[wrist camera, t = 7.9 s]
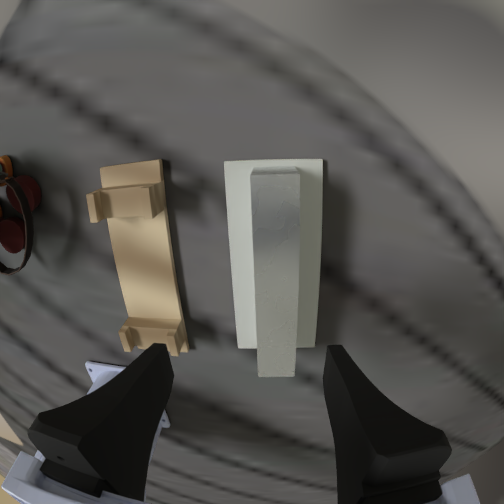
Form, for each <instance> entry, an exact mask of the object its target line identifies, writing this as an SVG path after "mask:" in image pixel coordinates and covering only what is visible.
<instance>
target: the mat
mask: <svg viewBox="0 0 504 504" xmlns="http://www.w3.org/2000/svg"><path fill="white" fill-rule="evenodd" d="M270 166H295V168H296V169H297V171H298V172H299V173H300V255H299V292H298V318H297V339H296V348H306V347H315V337H316V326H317V313H318V299H319V283H320V264H321V239H322V196H323V159H263V160H237V161H224V169H225V186H226V201H227V216H228V230H229V244H230V257H231V270H232V283H233V295H234V307H235V319H236V330H237V341H238V348H257V334H256V309H255V285H254V260H253V236H252V211H251V187H250V174H251V172H252V170H253V168H254V167H270Z"/></svg>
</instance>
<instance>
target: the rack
mask: <svg viewBox="0 0 504 504" xmlns="http://www.w3.org/2000/svg"><path fill="white" fill-rule="evenodd" d="M100 173H101V181H102V188H101V189H98V190H96V191H93V192H91V193H89V194H86V197H87V204H88V210H89V215H90V221H91V223H96V222H99V221H101V220H103V219H106V218H107V221H108V227H109V233H110V238H111V243H112V248H113V253H114V258H115V262H116V267H117V272H118V276H119V280H120V284H121V288H122V292H123V296H124V300H125V304H126V308H127V312H128V315H129V317H128V319H127V320H126V322H125V323H124V325H123V326H122V327H121V329H120V330H119V332H118V333H119V336H120V339H121V342H122V345H123V348H124V351H126V352H131V351H132V349H133V348H134V346H138V349H147V348H148V347H150V346H151V345H152V344H153V343H164V344H166V346H167V350H168V351H170V353H171V356H179V353H180V352H188V351H189V343H188V338H187V333H186V328H185V323H184V318H183V312H182V307H181V301H180V295H179V289H178V283H177V277H176V271H175V264H174V258H173V251H172V244H171V236H170V229H169V221H168V213H167V204H166V195H165V186H164V176H163V165H162V159H158V160H150V161H142V162H134V163H127V164H120V165H113V166H106V167H102V168H100Z"/></svg>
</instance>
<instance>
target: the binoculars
mask: <svg viewBox="0 0 504 504" xmlns="http://www.w3.org/2000/svg"><path fill="white" fill-rule="evenodd" d="M12 176H13V169H12V163H11V160H10V158H9V157H8V156H6V155H4V156H1V157H0V186H5V185H7V187H6V193H7V197H8V199H9V201H10V203H11V205H12V206H13V207H14V209H15V210H16V211H18V212H19V213H21V214H23V217H24V220H25V222H24V221H23V220H22V219H20V218H18V217H9V218H7V219H4V218H2V209H1V206H0V242H1V244H2V246H3V247H4V248H5V249H6V250H7V251H8V252H10V253H18V252H20V251H21V250H22V249H23V248H24V247H25V254H24V260H23V262H22V264H21V266H20V267H18V268H16V269H12V268H7V267H6V266H5V265H4V264H2V263H1V262H0V273H1V274H5V275H12V274H14V273H16V272H19V271H20V270H21V269H22V268H23V267H24V266H25V265H26V263H27V261H28V259H29V258H30V256H31V250H32V245H33V217H32V213H31V212H32V211H33V210H34V209H35V208H36V207H37V206H38V205H39V204H40V201H41V191H40V188H39V186H38V184H37V182H36V181H35V180H34V179H33V178H32V177H30V176H27V175H21V176H18V177H16V178H14V177H12Z"/></svg>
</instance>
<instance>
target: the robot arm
mask: <svg viewBox="0 0 504 504" xmlns="http://www.w3.org/2000/svg"><path fill="white" fill-rule="evenodd" d="M85 366H86V368H87V370H88V373H89V375H90V377H91V379H92V381H93V385H92V387H91V388H90V390H89V392H88V393H87V395H86V396H84V397H82V398H80V399H78V400H76V401H73V402H71V403H69V404H66V405H64V406H61V407H58V408H55V409H52V410H48V411H45V412H41V413H39V414H38V416H37V417H36V419H35V420H34V422H33V424H32V425H31V427H30V428H29V430H28V436H29V439H30V440H31V442H32V443H33V444H34V445H35V447H36V448H37V449H38V451H37V452H36V454H35V456H34V457H33V456H31V455H29V454H27V453H25V452H23V451H21V452H20V453H19V455H18V457H17V459H16V460H15V462H14V464H13V466H12V467H11V469H10V471H9V473H8V474H7V476H6V478H5V480H4V482H3V484H2V486H1V487H2V489H3V490H5V491H6V492H7V493H8V494H9V495H11V496H12V497H13V498H14V499H15V500H17V501H18V502H19V503H21V504H150V503H146V502H145V499H146V489H145V484H146V477H147V471H148V466H149V464H150V462H151V459H152V456H153V453H154V449H155V446H156V443H157V440H158V437H159V434H160V431H161V428H162V427H164V428H169V427H170V422H169V419H168V417H167V414H166V411H165V407H166V404H167V401H168V398H169V396H170V392H171V388H172V384H173V379H174V373H173V369H172V365H171V362H170V358H169V354H168V350H167V346H166V344H164V343H153V344H152V345H151V346H150V347H148V348H147V349H146V350H145V351H144V352H143V353H142V354H141V355H140V356H139V357H138V358H136V359H135V360H134V361H133V362H132V363H131V364H130V365H129V366H127V367H122V366H115V365H108V364H102V363H96V362H90V361H87V362H86V363H85ZM323 385H324V395H325V401H326V405H327V410H328V414H329V419H330V423H331V428H332V432H333V437H334V443H335V454H336V468H337V491H338V504H480V502H479V499H478V496H477V493H476V490H475V488H474V485H473V482H472V480H471V477H470V475H469V474H466V475H463V476H461V477H458V478H455V479H452V480H449V481H447V482H445V483H443V484H441V485H440V484H439V481H438V480H439V479H440V477H441V476H440V473H439V469H440V468H441V467H442V466H443V464H444V463H445V462H446V461H447V459H448V458H449V456H450V455H451V451H452V449H451V446H450V444H449V441H448V439H447V437H446V435H445V434H444V432H443V431H442V430H440V429H438V428H435V427H433V426H431V425H428V424H426V423H424V422H422V421H421V420H419V419H417V418H415V417H413V416H412V415H410V414H409V413H407V412H406V411H404V410H403V409H401V408H400V407H398V406H397V405H396V404H394V403H393V402H392V401H391V400H389V399H388V398H387V397H386V396H385V395H384V394H383V393H381V392H380V391H379V390H378V389H377V388H376V387H375V386H374V385H373V384H372V382H371V381H370V380H369V379H368V378H367V377H366V376H365V375H364V373H363V372H362V371H361V370H360V369H359V367H358V366H357V365H356V364H355V362H354V361H353V360H352V358H351V357H350V356H349V354H348V353H347V352H346V350H345V349H344V347H343V346H342V345H328V346H327V353H326V360H325V367H324V374H323Z"/></svg>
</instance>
